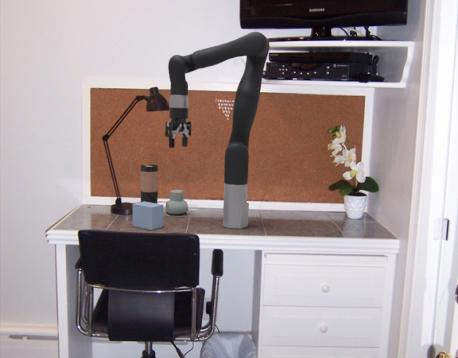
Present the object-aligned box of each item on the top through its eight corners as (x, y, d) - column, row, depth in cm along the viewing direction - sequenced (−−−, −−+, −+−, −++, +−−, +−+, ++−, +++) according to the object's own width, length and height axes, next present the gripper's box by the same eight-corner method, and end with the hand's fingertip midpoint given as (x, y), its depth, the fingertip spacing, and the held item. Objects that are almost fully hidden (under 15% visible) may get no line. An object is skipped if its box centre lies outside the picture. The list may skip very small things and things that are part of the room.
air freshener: (164, 211, 227) (165, 189, 225) (183, 210, 229) (183, 188, 228) (169, 216, 217) (170, 193, 215) (188, 215, 219) (189, 192, 218)
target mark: (164, 226, 199) (164, 226, 199) (151, 230, 192) (151, 230, 192) (144, 222, 204) (144, 222, 204) (131, 226, 197) (131, 226, 197)
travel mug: (154, 212, 224) (154, 166, 221) (137, 210, 226) (138, 165, 223) (160, 208, 231) (160, 164, 228) (144, 207, 233) (144, 164, 230)
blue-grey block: (163, 226, 198) (163, 204, 197) (151, 230, 193) (152, 207, 191) (144, 223, 203) (144, 201, 202) (132, 226, 198) (132, 204, 196)
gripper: (175, 106, 196) (174, 149, 198) (197, 107, 208) (196, 146, 210) (160, 106, 199) (159, 147, 202) (182, 106, 211) (181, 145, 214)
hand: (178, 147), depth 206 cm, fingers open, 8 cm apart
